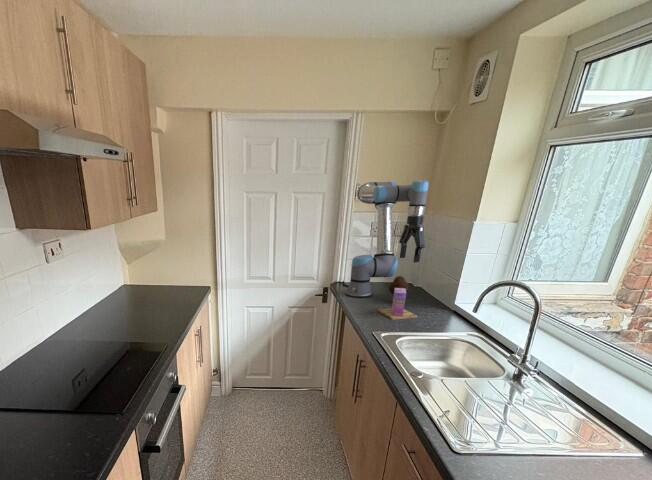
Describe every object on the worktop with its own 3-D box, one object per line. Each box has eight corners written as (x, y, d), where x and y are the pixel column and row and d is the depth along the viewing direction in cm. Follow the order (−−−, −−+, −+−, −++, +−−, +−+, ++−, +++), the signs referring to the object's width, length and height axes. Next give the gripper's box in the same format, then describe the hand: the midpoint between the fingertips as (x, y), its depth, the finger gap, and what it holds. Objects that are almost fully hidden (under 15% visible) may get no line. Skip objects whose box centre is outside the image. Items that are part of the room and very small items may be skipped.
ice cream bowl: (382, 301, 241) (385, 275, 234) (397, 299, 245) (401, 274, 239) (395, 306, 232) (399, 279, 226) (410, 303, 237) (414, 277, 230)
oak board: (377, 311, 224) (378, 309, 224) (401, 309, 227) (401, 307, 226) (392, 319, 210) (392, 317, 210) (417, 317, 213) (417, 316, 212)
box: (403, 315, 213) (406, 292, 208) (391, 314, 214) (394, 292, 209) (402, 310, 222) (406, 288, 216) (391, 309, 223) (394, 287, 218)
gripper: (437, 217, 193) (429, 263, 203) (409, 213, 215) (403, 255, 225) (422, 217, 192) (415, 264, 201) (396, 214, 214) (390, 256, 223)
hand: (409, 260), depth 213 cm, fingers open, 13 cm apart
